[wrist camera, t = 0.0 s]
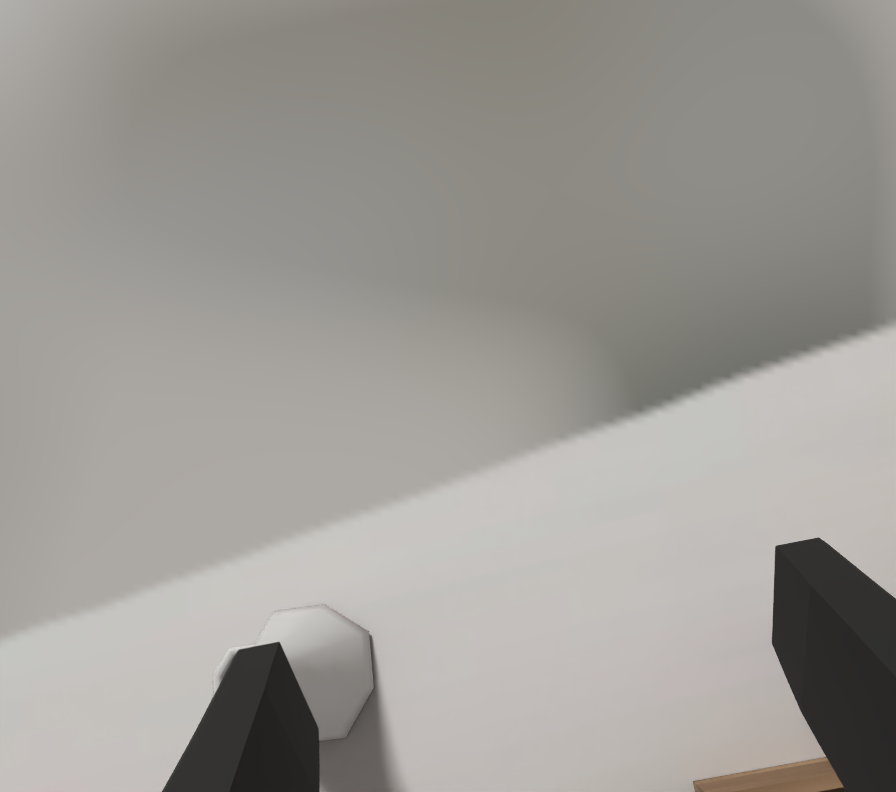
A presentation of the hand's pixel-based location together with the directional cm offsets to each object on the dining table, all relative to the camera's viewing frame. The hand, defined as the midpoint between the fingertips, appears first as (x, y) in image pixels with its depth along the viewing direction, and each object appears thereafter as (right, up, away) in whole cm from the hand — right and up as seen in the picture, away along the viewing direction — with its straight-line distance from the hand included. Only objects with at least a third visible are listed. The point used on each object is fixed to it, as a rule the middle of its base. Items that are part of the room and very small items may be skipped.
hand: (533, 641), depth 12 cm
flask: (-9, -11, +32) cm, 35 cm away
